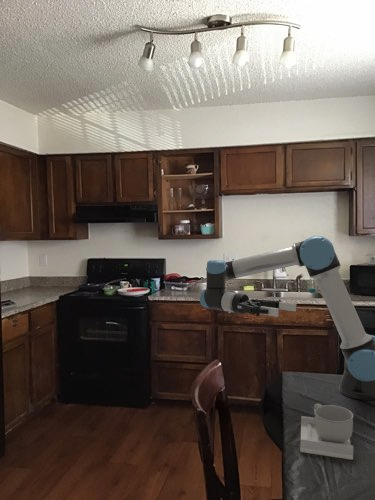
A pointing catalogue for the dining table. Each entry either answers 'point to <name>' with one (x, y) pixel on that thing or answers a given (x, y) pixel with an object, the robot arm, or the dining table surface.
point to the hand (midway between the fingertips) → (287, 310)
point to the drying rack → (321, 442)
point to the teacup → (333, 423)
